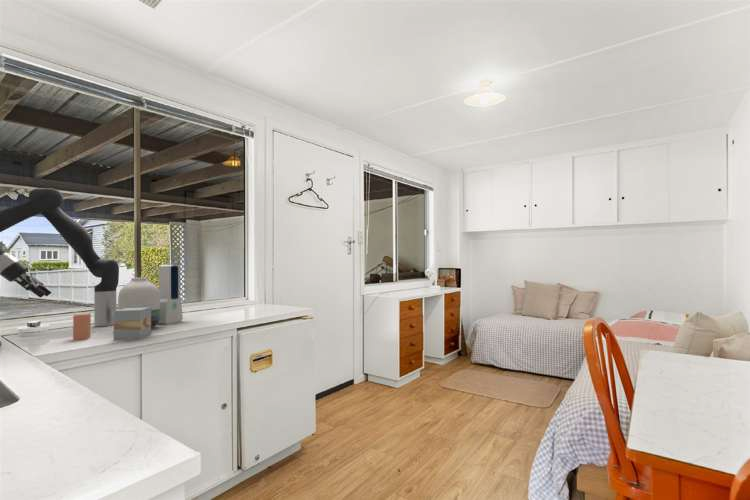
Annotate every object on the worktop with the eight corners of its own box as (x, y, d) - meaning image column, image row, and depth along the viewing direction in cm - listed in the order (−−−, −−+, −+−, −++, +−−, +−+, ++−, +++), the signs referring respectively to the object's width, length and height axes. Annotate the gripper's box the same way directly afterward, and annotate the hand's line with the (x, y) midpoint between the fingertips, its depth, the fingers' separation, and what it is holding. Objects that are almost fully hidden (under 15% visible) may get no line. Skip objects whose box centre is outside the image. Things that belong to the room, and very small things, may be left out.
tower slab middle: (126, 326, 167) (126, 317, 167) (151, 325, 168) (151, 316, 168) (113, 330, 157) (113, 320, 157) (140, 329, 158) (140, 319, 158)
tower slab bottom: (126, 336, 166) (126, 326, 166) (150, 335, 168) (150, 325, 168) (113, 340, 156) (113, 330, 157) (140, 339, 158) (140, 329, 158)
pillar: (75, 338, 161) (75, 314, 162) (90, 337, 164) (90, 313, 164) (73, 340, 157) (73, 315, 157) (88, 338, 159) (88, 314, 160)
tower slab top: (126, 317, 167) (126, 308, 167) (151, 316, 168) (151, 307, 168) (113, 320, 157) (113, 310, 157) (140, 319, 158) (140, 310, 158)
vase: (124, 327, 188) (124, 277, 189) (163, 324, 193) (163, 276, 194) (112, 333, 172) (112, 279, 173) (155, 330, 177) (155, 277, 178)
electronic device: (166, 324, 193) (165, 264, 194) (153, 324, 194) (152, 265, 195) (183, 321, 205) (182, 264, 206) (170, 320, 206) (170, 264, 207)
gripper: (11, 259, 146) (50, 289, 150) (24, 260, 158) (59, 287, 163) (-8, 274, 143) (32, 303, 148) (6, 273, 155) (42, 300, 160)
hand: (46, 295), depth 155 cm, fingers open, 8 cm apart
